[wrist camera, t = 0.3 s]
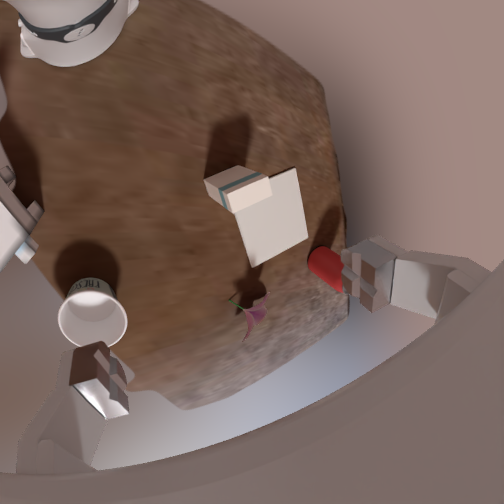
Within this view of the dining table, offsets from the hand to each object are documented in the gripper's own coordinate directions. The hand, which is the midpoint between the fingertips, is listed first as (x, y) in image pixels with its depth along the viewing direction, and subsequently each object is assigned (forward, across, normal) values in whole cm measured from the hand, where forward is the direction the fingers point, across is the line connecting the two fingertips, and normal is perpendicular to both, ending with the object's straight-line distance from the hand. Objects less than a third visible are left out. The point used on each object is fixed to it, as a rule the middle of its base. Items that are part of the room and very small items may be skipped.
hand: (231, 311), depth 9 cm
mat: (+41, -17, +16) cm, 47 cm away
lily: (+41, -8, +33) cm, 53 cm away
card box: (+39, -10, +6) cm, 41 cm away
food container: (+37, +20, +18) cm, 46 cm away
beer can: (+43, -28, +30) cm, 59 cm away
